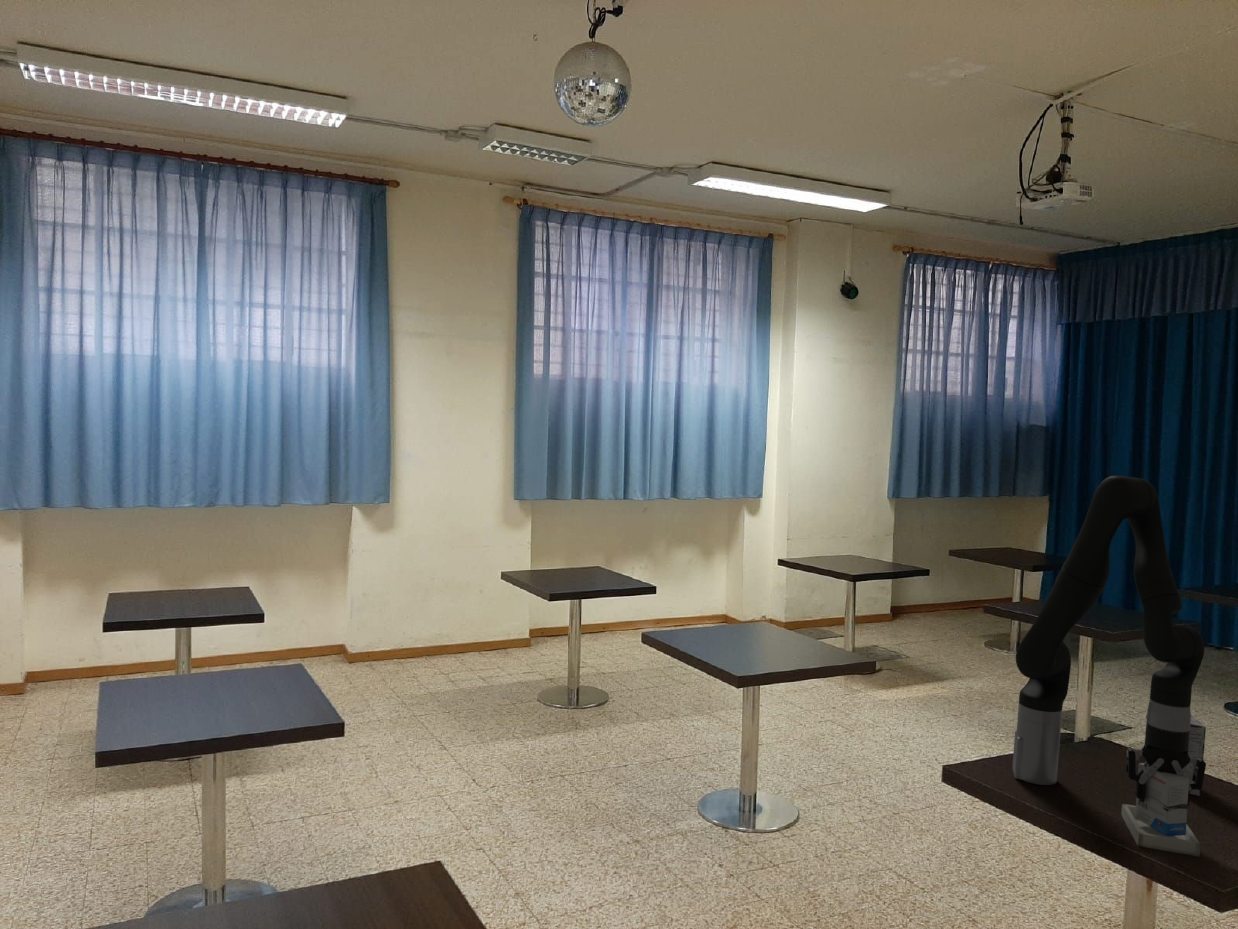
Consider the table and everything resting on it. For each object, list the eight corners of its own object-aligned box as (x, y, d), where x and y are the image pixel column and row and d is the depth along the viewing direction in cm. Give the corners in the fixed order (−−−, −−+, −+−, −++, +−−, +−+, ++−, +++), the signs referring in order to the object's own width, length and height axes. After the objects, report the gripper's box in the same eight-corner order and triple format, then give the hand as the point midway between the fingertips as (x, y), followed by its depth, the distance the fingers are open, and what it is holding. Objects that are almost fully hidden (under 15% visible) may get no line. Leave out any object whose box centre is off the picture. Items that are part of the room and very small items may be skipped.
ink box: (1187, 836, 176) (1191, 778, 175) (1164, 837, 175) (1169, 779, 174) (1154, 816, 184) (1159, 761, 183) (1133, 817, 183) (1137, 762, 183)
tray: (1137, 845, 174) (1138, 833, 174) (1121, 815, 188) (1122, 803, 188) (1199, 856, 171) (1200, 844, 171) (1178, 824, 185) (1179, 813, 185)
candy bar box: (1157, 775, 212) (1163, 708, 211) (1180, 777, 211) (1186, 710, 210) (1177, 794, 201) (1183, 723, 200) (1201, 797, 200) (1207, 726, 199)
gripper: (1132, 724, 177) (1125, 805, 178) (1215, 735, 173) (1208, 818, 173) (1123, 712, 184) (1117, 790, 185) (1203, 723, 180) (1196, 803, 181)
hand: (1161, 803), depth 179 cm, fingers closed on ink box, 6 cm apart
